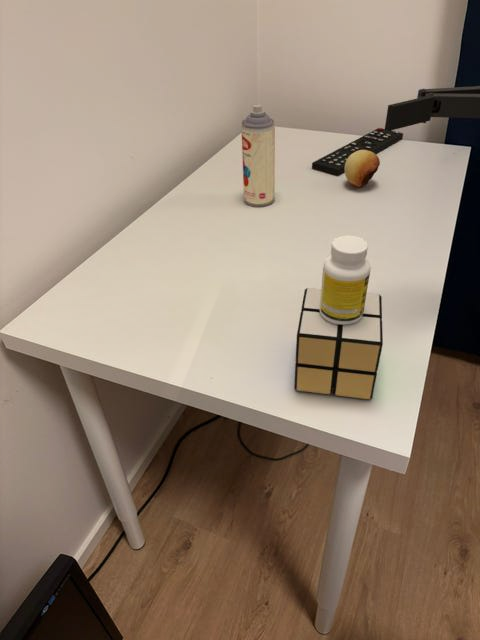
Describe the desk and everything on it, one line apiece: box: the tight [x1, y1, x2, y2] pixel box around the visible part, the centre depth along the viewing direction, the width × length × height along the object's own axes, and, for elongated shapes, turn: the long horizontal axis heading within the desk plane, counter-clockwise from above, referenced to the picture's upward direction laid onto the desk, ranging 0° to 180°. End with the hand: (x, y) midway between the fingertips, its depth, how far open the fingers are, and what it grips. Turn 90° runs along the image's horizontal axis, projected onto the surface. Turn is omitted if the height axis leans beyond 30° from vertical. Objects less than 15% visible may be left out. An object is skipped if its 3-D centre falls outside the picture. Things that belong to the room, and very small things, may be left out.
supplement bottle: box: [320, 235, 372, 325], centre depth 57 cm, size 5×5×10 cm
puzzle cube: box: [293, 287, 384, 400], centre depth 63 cm, size 10×10×10 cm
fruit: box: [344, 150, 381, 188], centre depth 109 cm, size 8×8×8 cm
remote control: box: [311, 127, 404, 177], centre depth 126 cm, size 8×32×2 cm, turn 137°
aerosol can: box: [240, 104, 276, 208], centre depth 102 cm, size 7×7×20 cm
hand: (432, 134), depth 51 cm, fingers open, 13 cm apart
